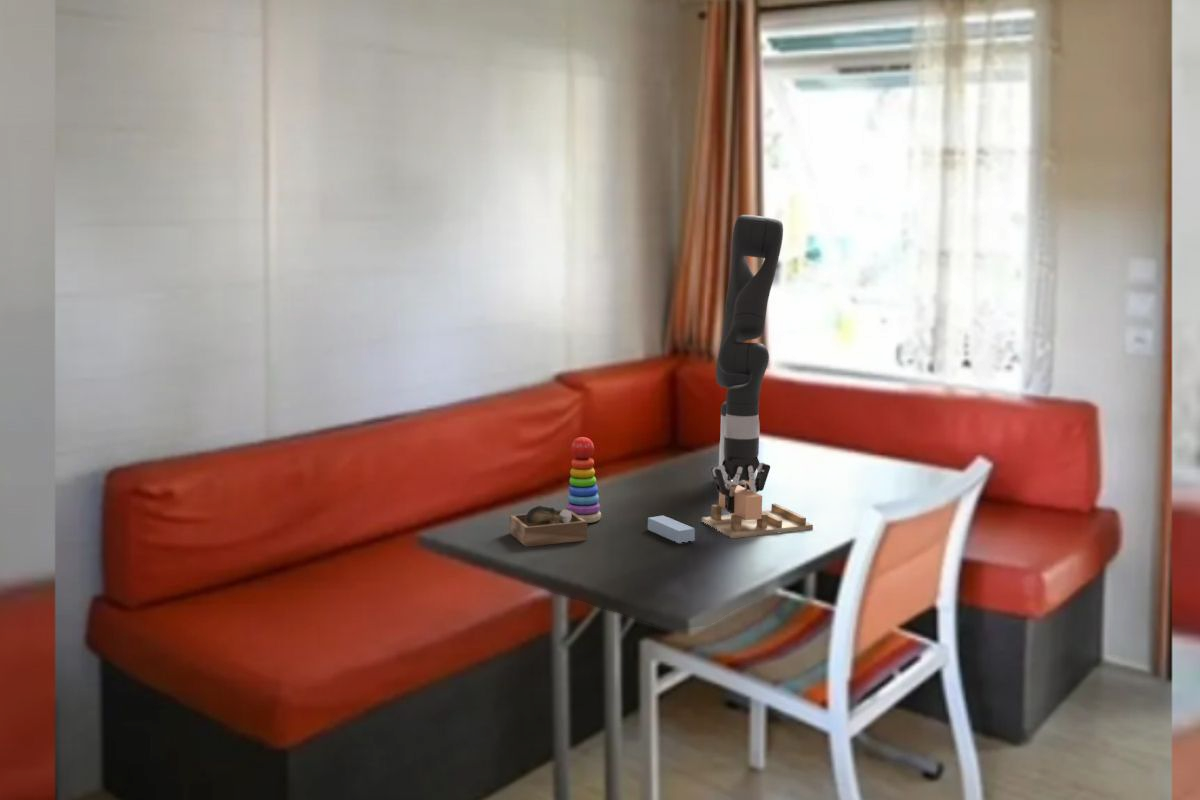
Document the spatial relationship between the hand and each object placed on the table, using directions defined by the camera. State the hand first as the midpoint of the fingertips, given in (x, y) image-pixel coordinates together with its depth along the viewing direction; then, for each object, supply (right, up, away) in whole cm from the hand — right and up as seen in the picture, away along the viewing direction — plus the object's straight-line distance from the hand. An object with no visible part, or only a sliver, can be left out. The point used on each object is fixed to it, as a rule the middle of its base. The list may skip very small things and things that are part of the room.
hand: (739, 510), depth 261 cm
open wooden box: (-42, -5, -8) cm, 42 cm away
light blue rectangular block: (-15, -5, -5) cm, 17 cm away
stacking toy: (-34, -3, +6) cm, 35 cm away
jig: (+4, -3, +2) cm, 6 cm away
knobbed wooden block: (0, 0, 0) cm, 0 cm away
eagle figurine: (-41, -5, -8) cm, 42 cm away
